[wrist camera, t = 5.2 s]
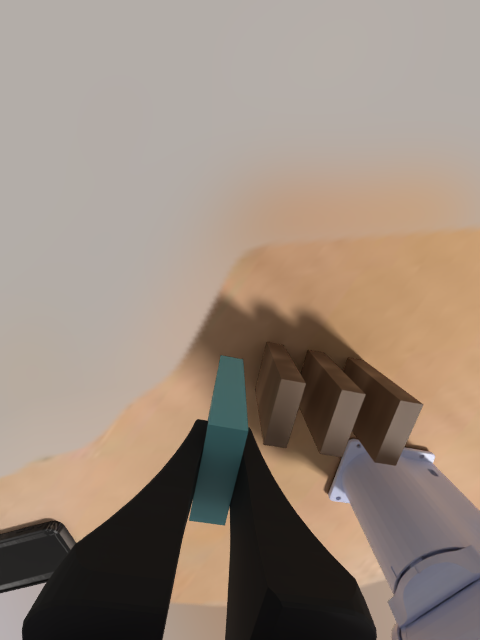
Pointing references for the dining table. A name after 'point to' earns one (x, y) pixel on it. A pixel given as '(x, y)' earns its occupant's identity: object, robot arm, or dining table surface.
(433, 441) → the dining table surface
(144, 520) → the robot arm
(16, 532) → the phone
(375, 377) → the domino
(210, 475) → the domino teal placed
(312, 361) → the domino
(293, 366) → the domino
